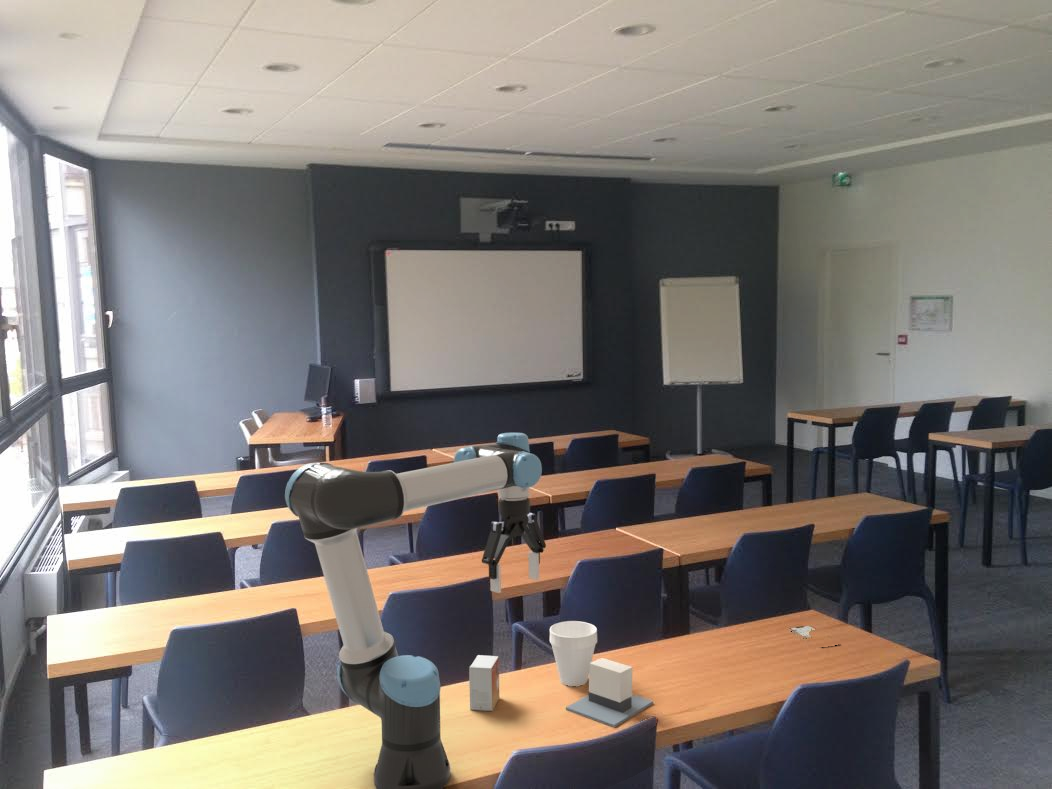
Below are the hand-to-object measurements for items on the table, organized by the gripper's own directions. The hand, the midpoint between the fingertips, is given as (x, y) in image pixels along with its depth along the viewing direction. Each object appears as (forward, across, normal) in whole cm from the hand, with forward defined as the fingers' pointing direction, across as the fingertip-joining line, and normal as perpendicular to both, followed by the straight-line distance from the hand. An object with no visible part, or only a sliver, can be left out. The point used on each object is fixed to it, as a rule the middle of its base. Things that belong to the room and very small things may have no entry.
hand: (515, 585), depth 199 cm
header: (+29, +12, -19) cm, 36 cm away
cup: (+29, +18, -3) cm, 34 cm away
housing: (+26, +12, -19) cm, 34 cm away
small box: (+29, -6, +5) cm, 30 cm away
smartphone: (+29, +86, -38) cm, 99 cm away
